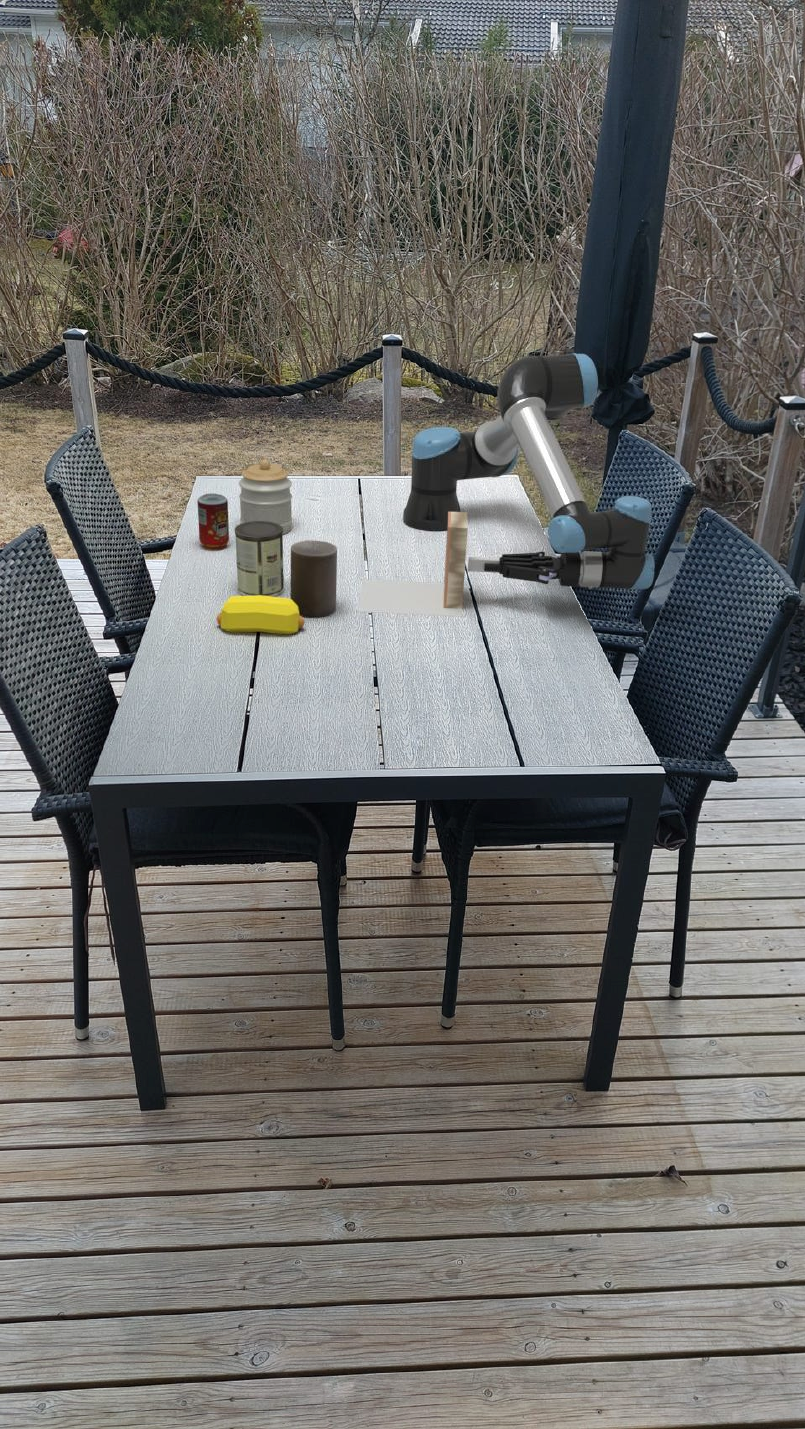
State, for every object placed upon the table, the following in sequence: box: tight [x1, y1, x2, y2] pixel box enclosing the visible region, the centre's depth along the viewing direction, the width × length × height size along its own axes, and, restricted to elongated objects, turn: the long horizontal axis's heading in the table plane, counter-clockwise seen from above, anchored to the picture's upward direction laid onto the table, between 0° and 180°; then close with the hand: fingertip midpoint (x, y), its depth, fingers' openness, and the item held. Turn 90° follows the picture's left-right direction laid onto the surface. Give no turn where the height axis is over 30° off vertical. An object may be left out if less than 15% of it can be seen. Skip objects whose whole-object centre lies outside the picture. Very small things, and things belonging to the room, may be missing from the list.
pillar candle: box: [289, 539, 338, 619], centre depth 232 cm, size 10×10×15 cm
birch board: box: [443, 511, 469, 610], centre depth 236 cm, size 4×10×18 cm, turn 178°
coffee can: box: [234, 521, 285, 597], centre depth 240 cm, size 10×10×14 cm
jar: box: [238, 458, 293, 535], centre depth 274 cm, size 13×13×18 cm
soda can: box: [196, 493, 230, 551], centre depth 263 cm, size 7×7×12 cm
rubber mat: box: [357, 579, 463, 618], centre depth 241 cm, size 22×18×1 cm
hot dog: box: [215, 595, 306, 635], centre depth 224 cm, size 18×7×8 cm
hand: (468, 564), depth 236 cm, fingers closed
